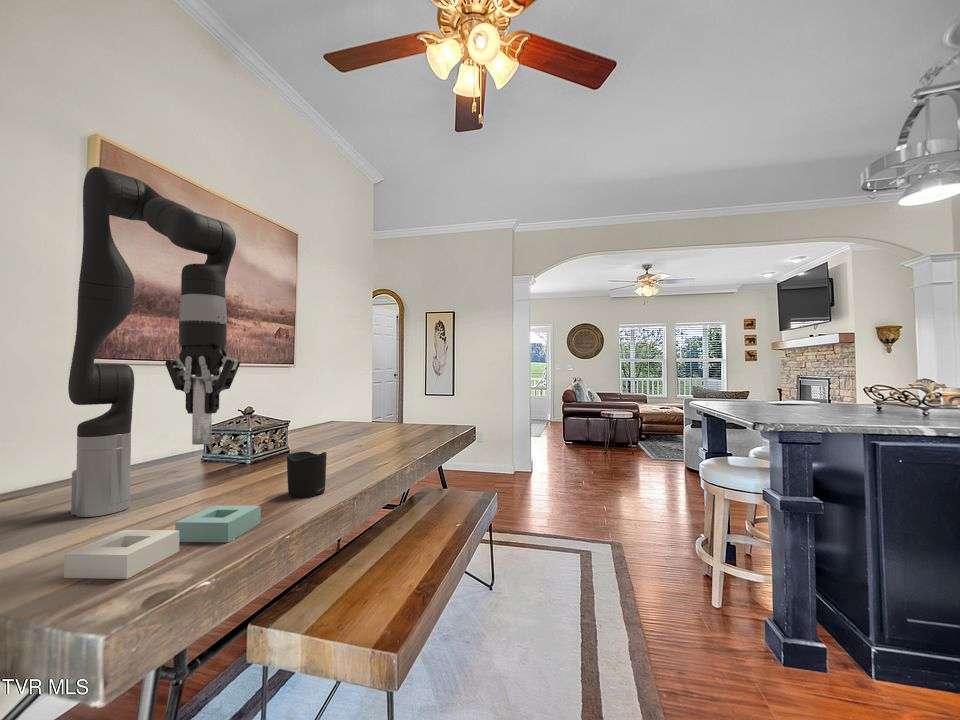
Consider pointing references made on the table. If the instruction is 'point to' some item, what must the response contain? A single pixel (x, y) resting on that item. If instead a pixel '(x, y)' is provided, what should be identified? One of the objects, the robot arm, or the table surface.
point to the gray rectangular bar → (200, 415)
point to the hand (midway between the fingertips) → (202, 412)
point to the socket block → (121, 554)
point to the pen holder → (306, 474)
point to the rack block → (218, 523)
